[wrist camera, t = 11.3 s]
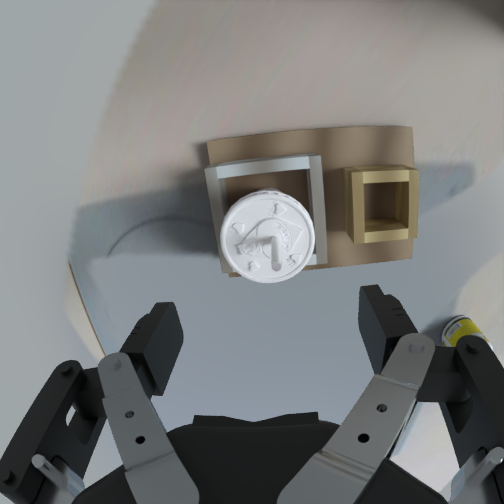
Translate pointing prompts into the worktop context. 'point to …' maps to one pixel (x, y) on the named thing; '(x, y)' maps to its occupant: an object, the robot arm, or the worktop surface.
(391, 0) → the worktop surface
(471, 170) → the worktop surface
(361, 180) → the fitting board
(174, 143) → the worktop surface
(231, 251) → the smoothie
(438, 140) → the worktop surface
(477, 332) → the supplement bottle
